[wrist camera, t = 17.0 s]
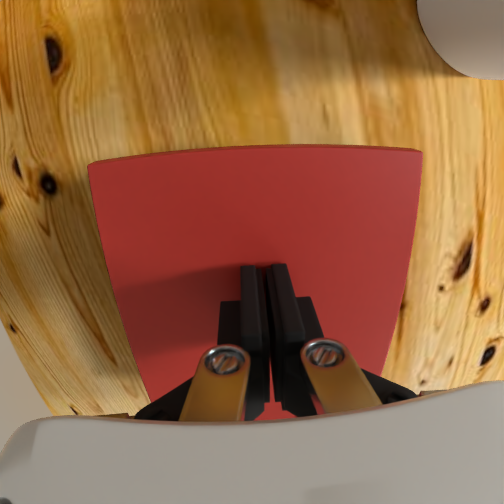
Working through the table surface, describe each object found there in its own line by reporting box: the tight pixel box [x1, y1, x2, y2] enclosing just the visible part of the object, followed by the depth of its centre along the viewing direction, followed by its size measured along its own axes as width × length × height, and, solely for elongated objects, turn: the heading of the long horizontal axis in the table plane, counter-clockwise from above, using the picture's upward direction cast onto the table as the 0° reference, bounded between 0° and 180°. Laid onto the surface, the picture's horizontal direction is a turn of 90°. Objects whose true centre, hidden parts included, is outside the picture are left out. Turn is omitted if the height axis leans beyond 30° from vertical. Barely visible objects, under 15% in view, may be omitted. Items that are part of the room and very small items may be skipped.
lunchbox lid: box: [87, 144, 423, 421], centre depth 14 cm, size 16×12×1 cm
